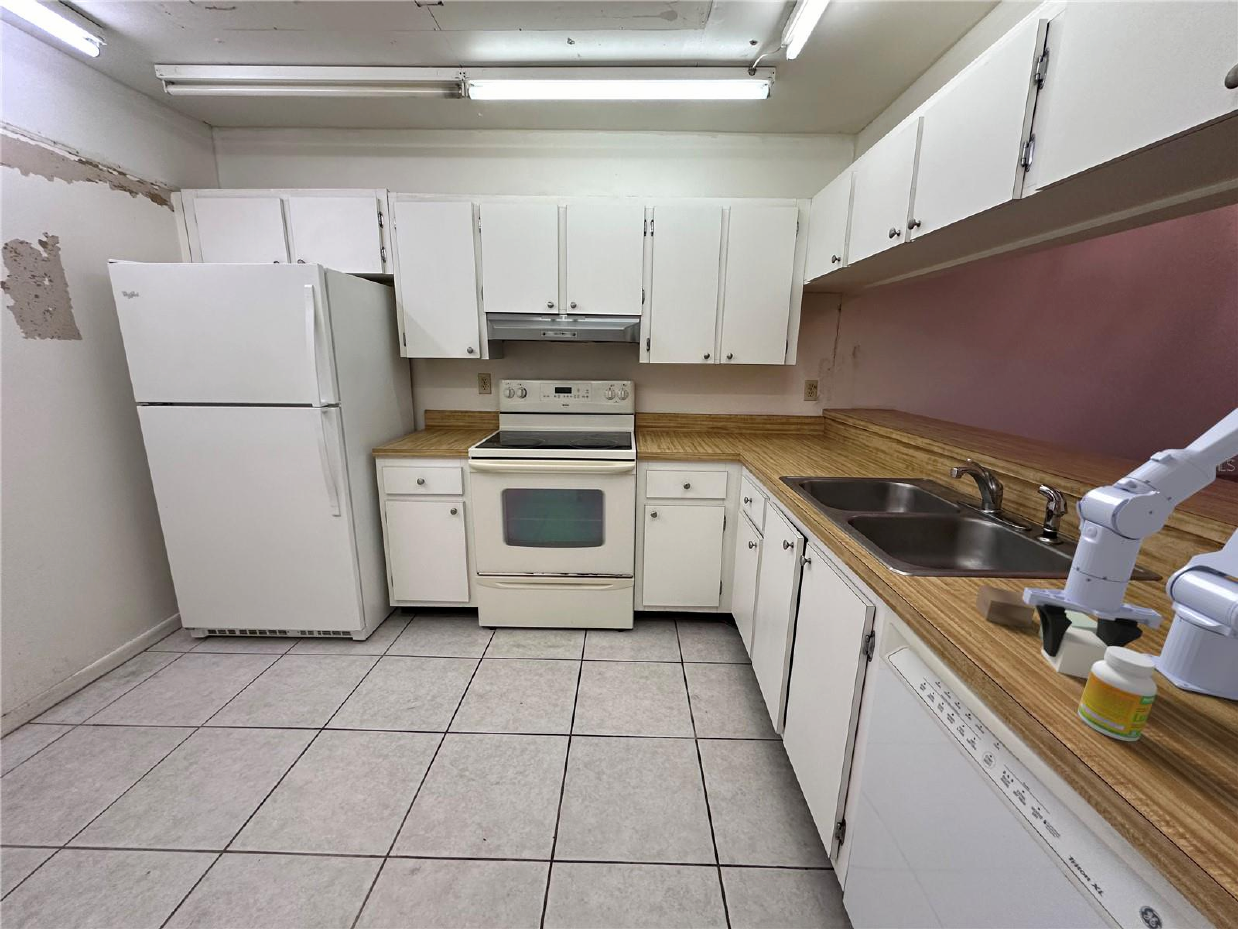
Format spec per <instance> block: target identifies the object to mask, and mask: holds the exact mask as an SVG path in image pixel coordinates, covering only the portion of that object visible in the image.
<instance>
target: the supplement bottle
mask: <svg viewBox="0 0 1238 929" xmlns="http://www.w3.org/2000/svg"><path fill="white" fill-rule="evenodd" d="M1104 659H1105V660H1102V661H1097V662H1095V663H1094V664H1093V666H1092V669H1091V672H1090V675H1089V678H1088V679H1087V681H1086V683H1085V684H1086V685H1085V687H1084V690H1083V693H1082V696H1081V699H1080V702H1079V704H1078V705H1079V706H1078V709H1077V714H1078V716H1079V717H1080V719H1081V720H1082V721H1083V722H1084V723H1086V724H1087V726H1089V727H1091V728H1092V729H1094V730H1095V731H1098V732H1099V733H1101V734H1103V735H1105V736H1108V737H1110V738H1113V739H1116V740H1119V741H1122V742H1123V741H1124V742H1136V741H1138V740H1139V739H1140V737H1141V735H1142V732H1143V730H1144V726H1145V725H1146V722H1147V719H1148V717H1149V713H1150V711H1151V709H1152V705H1153V702H1154V700H1155V699H1156V698H1155V697H1156V695H1157V692H1158V687H1157V684H1156V682H1155V681H1154V679H1153V678H1151V677H1153V675H1154V672H1155V669H1156V668H1155V663H1154V662H1153V661H1152V660H1151V659H1149V658H1148V657H1146V656H1144V655H1142V653H1140V652H1138V651H1136V650H1135V651H1134V650H1132V649H1129V648H1126V647H1123V648H1122V647H1117V646H1110V647H1108V648H1107V650H1106V652H1105V655H1104Z"/></svg>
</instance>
